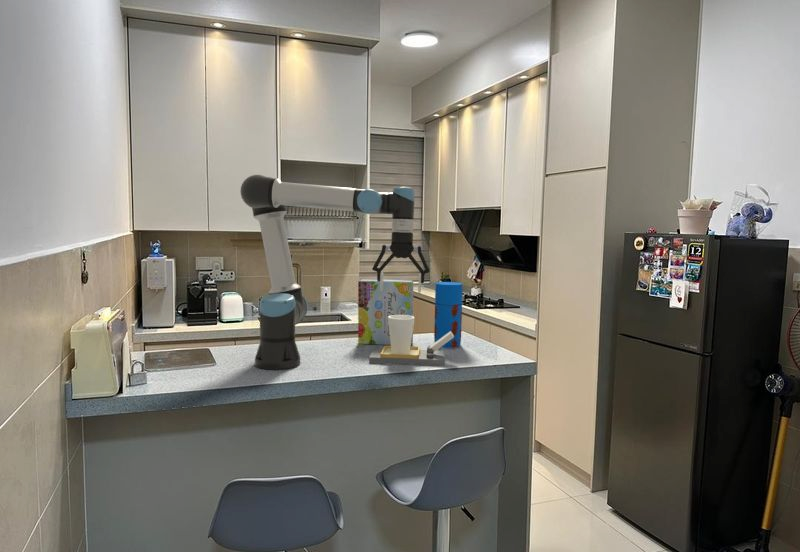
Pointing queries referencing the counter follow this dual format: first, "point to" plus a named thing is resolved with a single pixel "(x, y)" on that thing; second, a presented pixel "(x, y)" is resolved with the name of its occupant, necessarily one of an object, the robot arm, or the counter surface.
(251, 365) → the counter surface
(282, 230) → the robot arm
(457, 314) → the thermos
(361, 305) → the snack box
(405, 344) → the foam cup
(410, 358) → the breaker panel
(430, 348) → the lever
